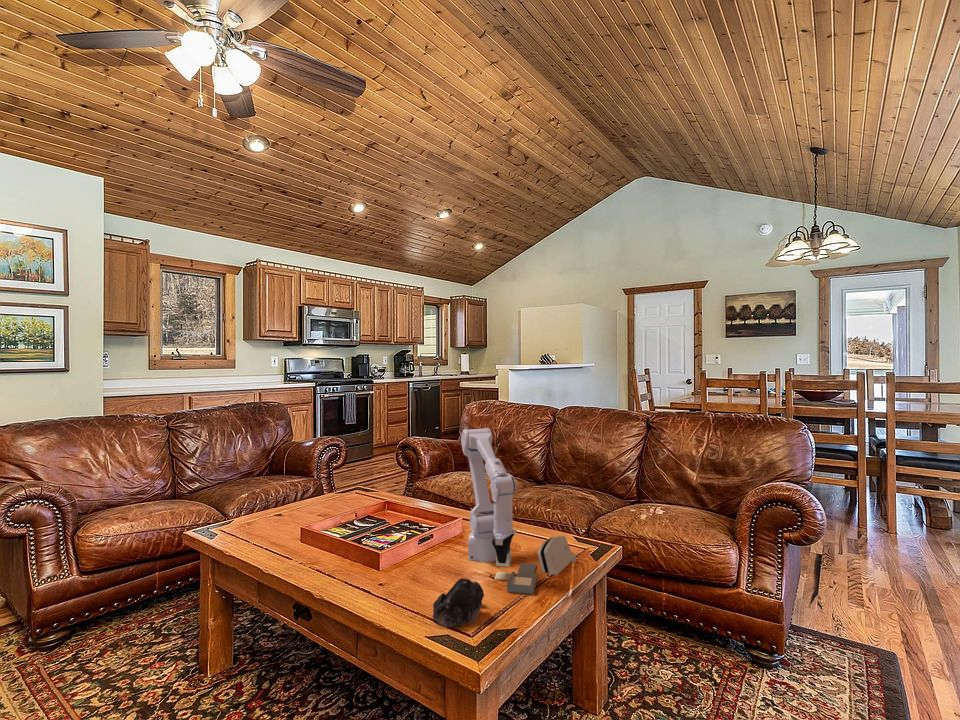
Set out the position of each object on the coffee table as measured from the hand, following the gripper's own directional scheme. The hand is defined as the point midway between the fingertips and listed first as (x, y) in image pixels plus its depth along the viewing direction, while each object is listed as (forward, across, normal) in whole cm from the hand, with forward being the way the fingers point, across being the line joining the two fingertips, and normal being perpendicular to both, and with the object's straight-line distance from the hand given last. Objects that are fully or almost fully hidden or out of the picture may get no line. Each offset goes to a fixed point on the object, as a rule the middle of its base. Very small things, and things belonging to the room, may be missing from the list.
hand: (503, 559), depth 150 cm
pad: (+6, 0, 0) cm, 6 cm away
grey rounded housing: (+6, +12, -15) cm, 21 cm away
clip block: (+1, 0, 0) cm, 1 cm away
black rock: (+6, -23, +8) cm, 25 cm away
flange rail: (+6, 0, -7) cm, 9 cm away
